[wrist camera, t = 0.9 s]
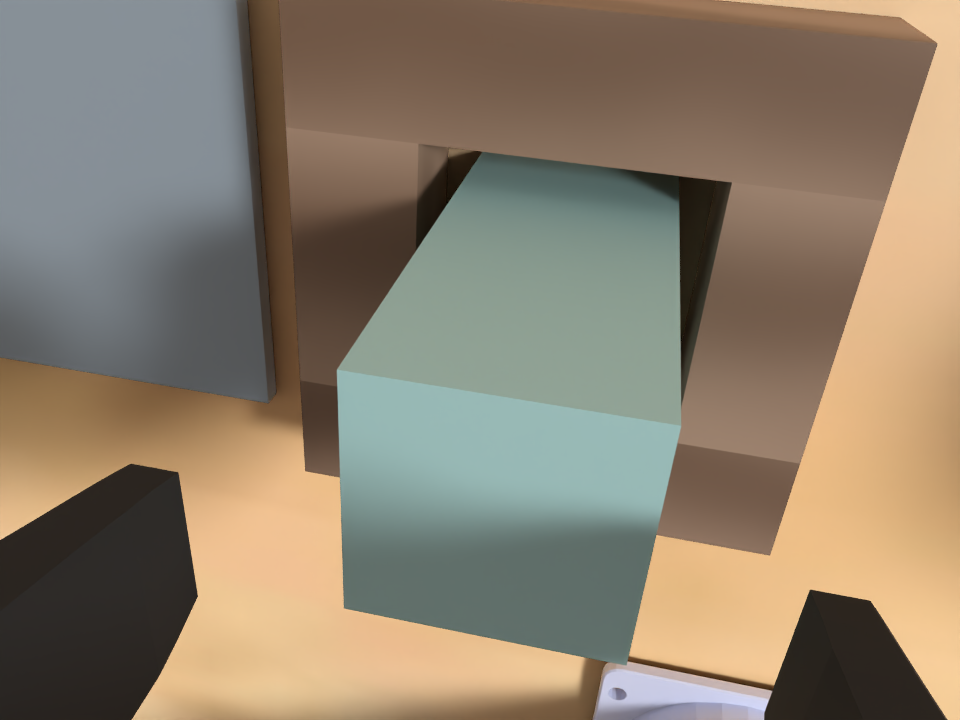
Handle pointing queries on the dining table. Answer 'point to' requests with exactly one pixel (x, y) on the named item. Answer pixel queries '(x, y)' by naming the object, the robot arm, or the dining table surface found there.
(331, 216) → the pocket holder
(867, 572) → the dining table surface
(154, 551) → the robot arm
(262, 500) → the dining table surface
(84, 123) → the rubber mat
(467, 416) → the teal block
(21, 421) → the dining table surface
